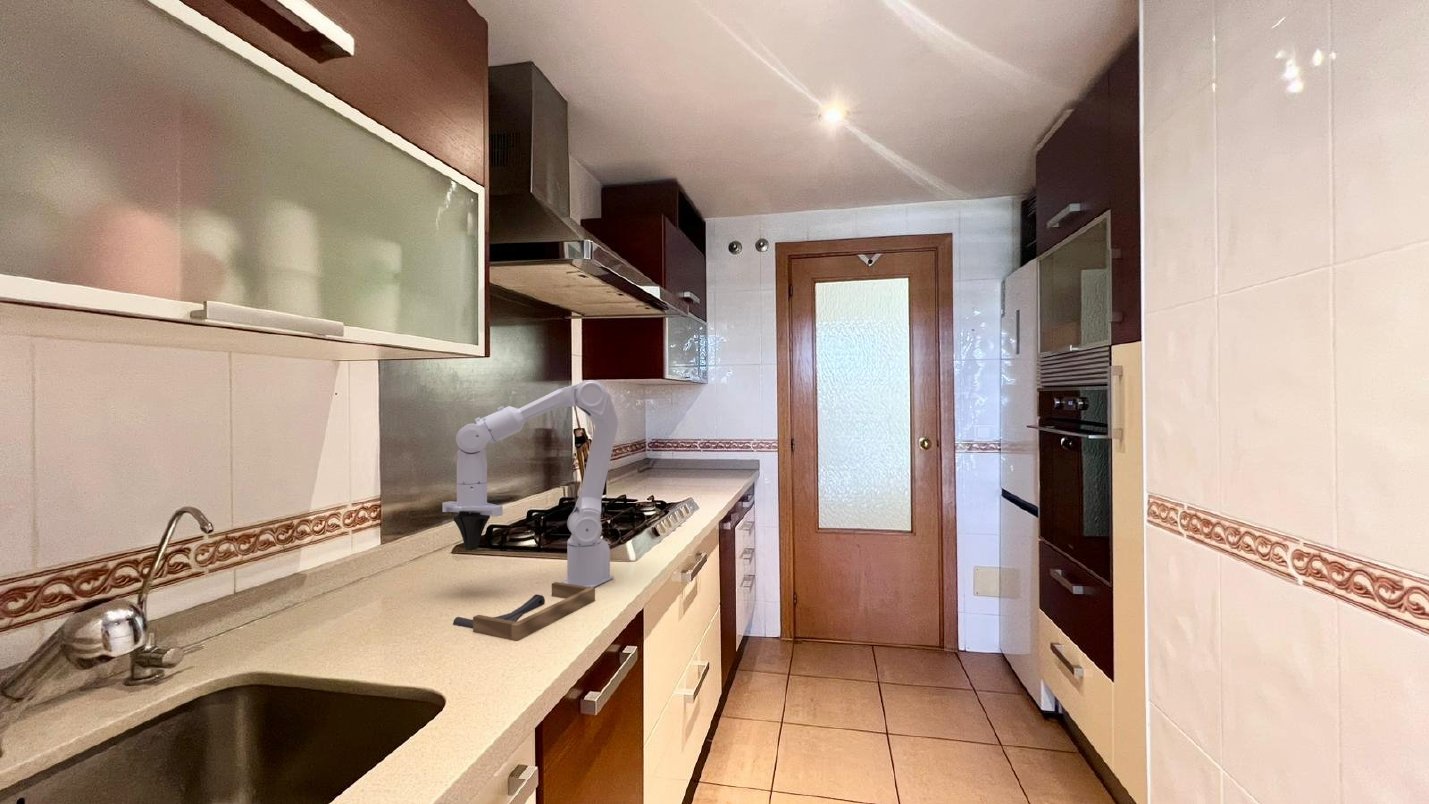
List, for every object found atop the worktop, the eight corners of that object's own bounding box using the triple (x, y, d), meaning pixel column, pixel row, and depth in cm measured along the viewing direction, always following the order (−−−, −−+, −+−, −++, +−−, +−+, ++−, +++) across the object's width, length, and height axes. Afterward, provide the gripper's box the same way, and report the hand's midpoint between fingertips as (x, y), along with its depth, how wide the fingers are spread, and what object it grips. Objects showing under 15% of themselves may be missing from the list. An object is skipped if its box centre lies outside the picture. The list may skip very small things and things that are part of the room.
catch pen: (555, 594, 118) (555, 581, 118) (595, 600, 114) (595, 587, 114) (473, 631, 98) (473, 616, 98) (517, 640, 94) (517, 625, 94)
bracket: (572, 612, 109) (572, 597, 109) (516, 641, 96) (516, 624, 96) (513, 602, 115) (513, 588, 115) (453, 628, 101) (453, 612, 101)
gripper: (429, 483, 116) (429, 550, 116) (483, 487, 111) (483, 557, 111) (458, 479, 123) (457, 542, 123) (510, 482, 117) (510, 549, 117)
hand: (471, 549), depth 117 cm, fingers closed
